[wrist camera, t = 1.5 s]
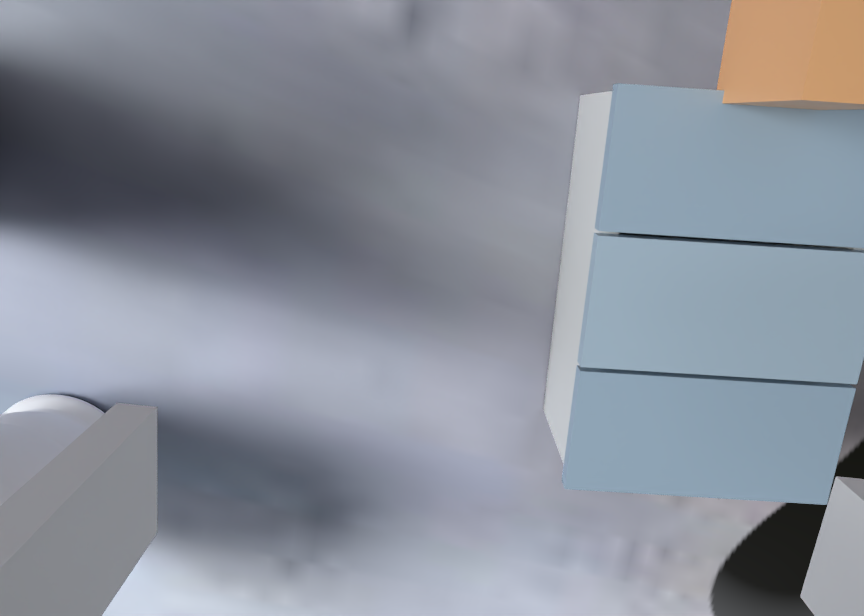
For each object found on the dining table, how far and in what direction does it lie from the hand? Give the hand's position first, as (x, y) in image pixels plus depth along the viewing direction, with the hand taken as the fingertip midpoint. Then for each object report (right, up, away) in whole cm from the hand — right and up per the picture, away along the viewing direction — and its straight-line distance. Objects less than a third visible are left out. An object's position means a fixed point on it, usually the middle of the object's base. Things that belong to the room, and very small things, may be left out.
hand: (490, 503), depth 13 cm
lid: (+12, +6, +17) cm, 22 cm away
